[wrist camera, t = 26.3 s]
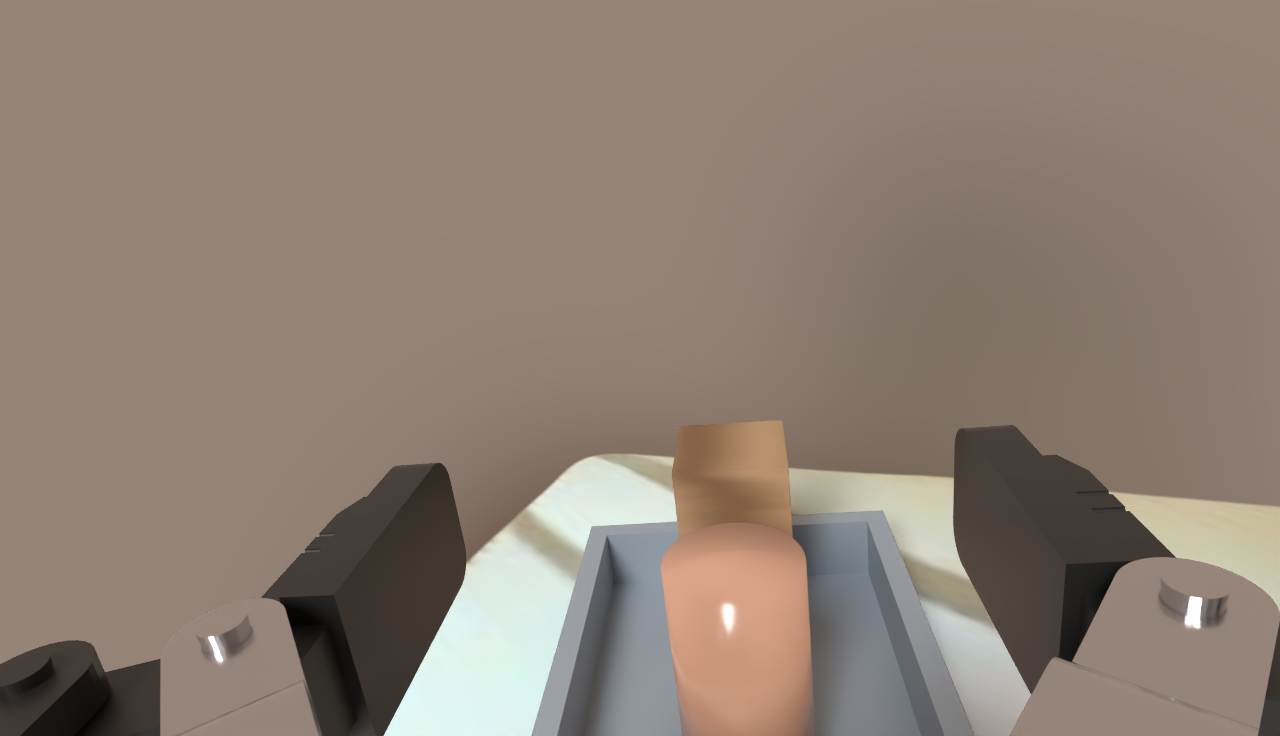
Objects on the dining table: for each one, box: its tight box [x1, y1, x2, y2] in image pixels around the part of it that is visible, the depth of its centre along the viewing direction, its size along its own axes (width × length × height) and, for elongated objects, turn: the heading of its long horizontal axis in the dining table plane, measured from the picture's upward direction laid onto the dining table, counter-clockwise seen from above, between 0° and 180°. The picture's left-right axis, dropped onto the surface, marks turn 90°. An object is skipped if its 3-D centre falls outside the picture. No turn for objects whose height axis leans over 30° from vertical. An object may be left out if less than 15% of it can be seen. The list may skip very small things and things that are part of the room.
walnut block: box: [672, 420, 793, 538], centre depth 36 cm, size 5×5×10 cm
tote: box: [532, 510, 975, 736], centre depth 33 cm, size 20×16×4 cm
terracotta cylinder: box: [661, 523, 816, 736], centre depth 28 cm, size 5×5×10 cm
